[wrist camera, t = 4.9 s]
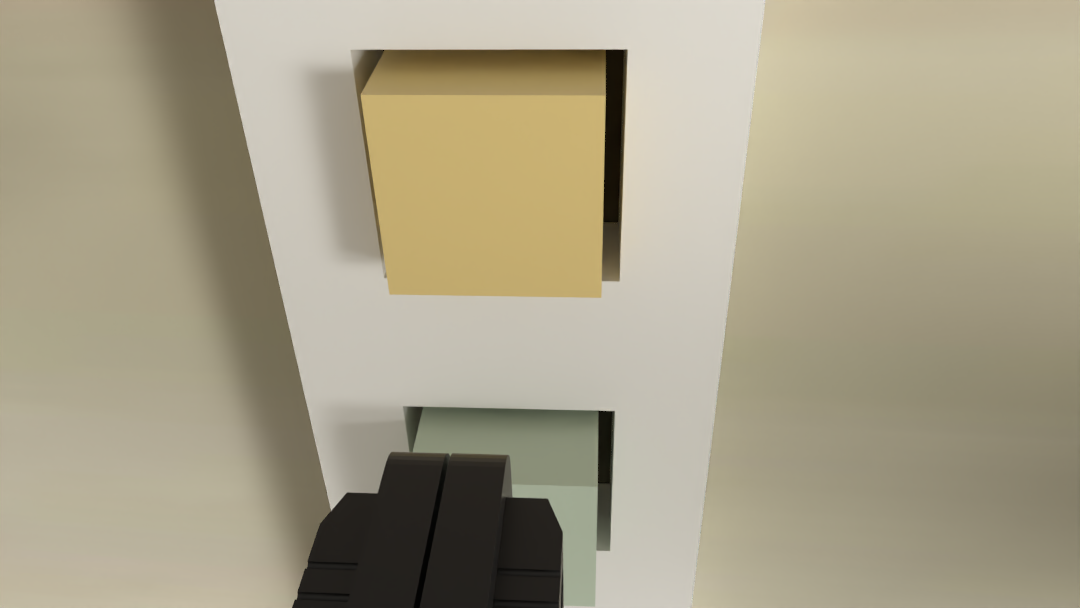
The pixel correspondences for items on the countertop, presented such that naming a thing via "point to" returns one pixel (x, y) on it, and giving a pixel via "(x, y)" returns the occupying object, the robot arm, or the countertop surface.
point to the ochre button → (489, 170)
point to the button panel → (508, 321)
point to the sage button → (535, 470)
